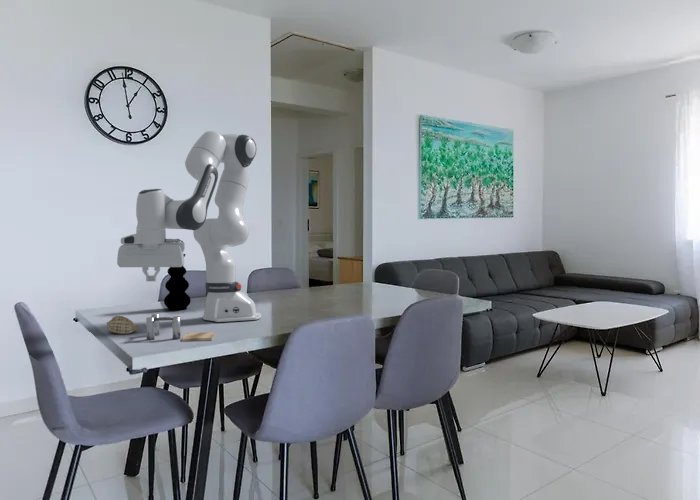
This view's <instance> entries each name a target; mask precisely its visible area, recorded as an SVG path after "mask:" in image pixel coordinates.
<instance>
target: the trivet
mask: <svg viewBox="0 0 700 500" xmlns="http://www.w3.org/2000/svg"><path fill="white" fill-rule="evenodd" d="M215 335H216V332H212V331H211V332H208V331H207V332H187V333H185V335H184V336H183V337H181V338H182V339H181V341H182V342H198V341H199V342H200V341H213V338H214V337H215Z"/></svg>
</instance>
